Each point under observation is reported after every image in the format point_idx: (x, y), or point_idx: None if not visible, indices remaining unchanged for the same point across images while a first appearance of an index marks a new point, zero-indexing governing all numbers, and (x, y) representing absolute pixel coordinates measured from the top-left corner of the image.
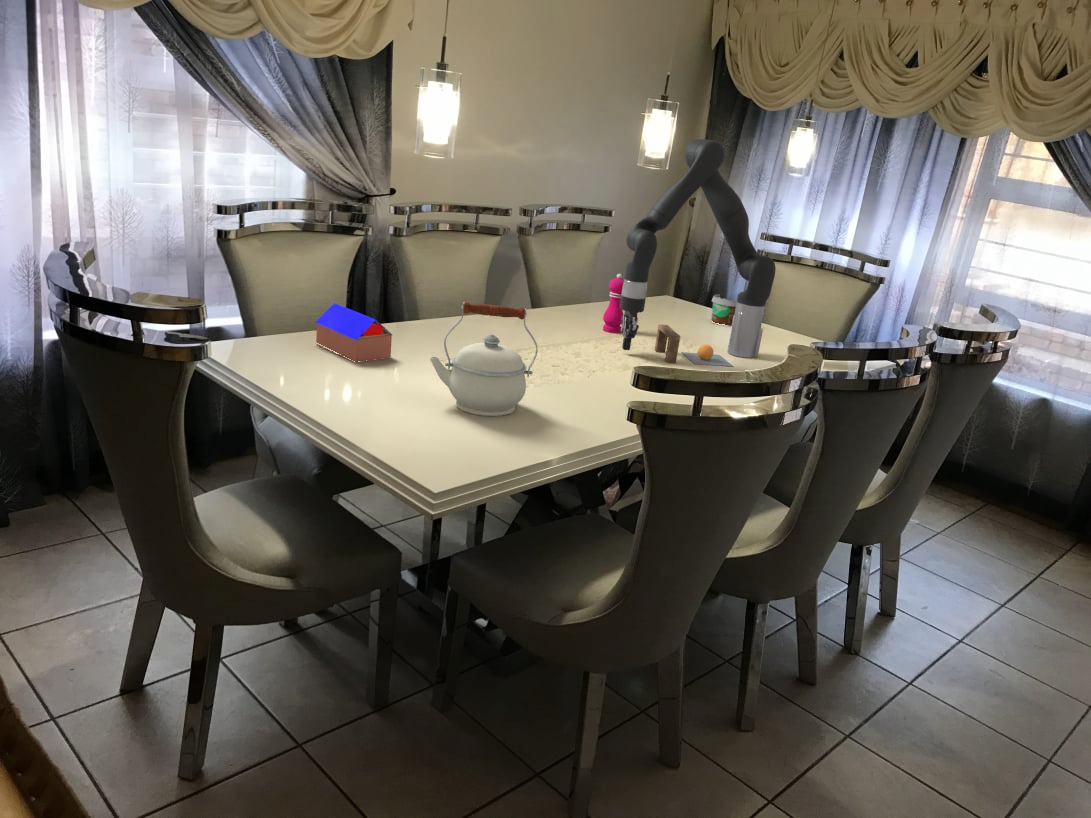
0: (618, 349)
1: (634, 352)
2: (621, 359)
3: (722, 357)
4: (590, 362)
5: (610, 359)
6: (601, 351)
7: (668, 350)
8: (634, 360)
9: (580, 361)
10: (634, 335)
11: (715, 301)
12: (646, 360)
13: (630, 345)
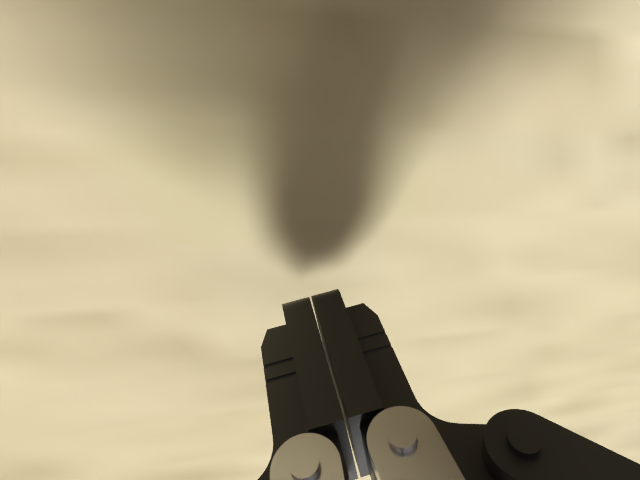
0: (136, 353)
1: (156, 197)
2: (506, 293)
3: None
4: (596, 423)
5: (519, 356)
6: None
7: None
8: (523, 188)
9: None
10: (617, 461)
11: None
12: (504, 45)
13: (352, 326)
